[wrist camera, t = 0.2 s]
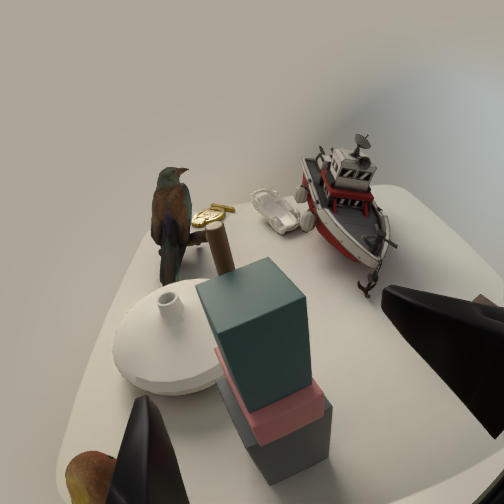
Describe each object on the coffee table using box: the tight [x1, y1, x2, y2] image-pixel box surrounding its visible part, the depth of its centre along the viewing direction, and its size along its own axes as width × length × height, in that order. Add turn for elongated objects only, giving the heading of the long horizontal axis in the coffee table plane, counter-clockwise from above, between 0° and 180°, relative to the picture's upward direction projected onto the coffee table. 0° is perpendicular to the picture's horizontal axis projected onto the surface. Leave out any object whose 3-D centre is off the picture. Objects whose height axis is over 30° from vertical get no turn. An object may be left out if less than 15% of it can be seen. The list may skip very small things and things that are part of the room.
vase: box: [112, 279, 226, 395], centre depth 30 cm, size 16×16×7 cm
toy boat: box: [294, 134, 398, 298], centre depth 40 cm, size 13×30×17 cm, turn 179°
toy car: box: [251, 188, 301, 234], centre depth 52 cm, size 5×12×4 cm, turn 25°
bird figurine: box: [151, 167, 208, 287], centre depth 45 cm, size 13×10×20 cm
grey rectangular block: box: [216, 377, 333, 485], centre depth 18 cm, size 5×5×9 cm
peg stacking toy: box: [195, 221, 324, 446], centre depth 13 cm, size 6×4×10 cm, turn 23°
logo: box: [191, 204, 235, 227], centre depth 59 cm, size 7×1×8 cm
